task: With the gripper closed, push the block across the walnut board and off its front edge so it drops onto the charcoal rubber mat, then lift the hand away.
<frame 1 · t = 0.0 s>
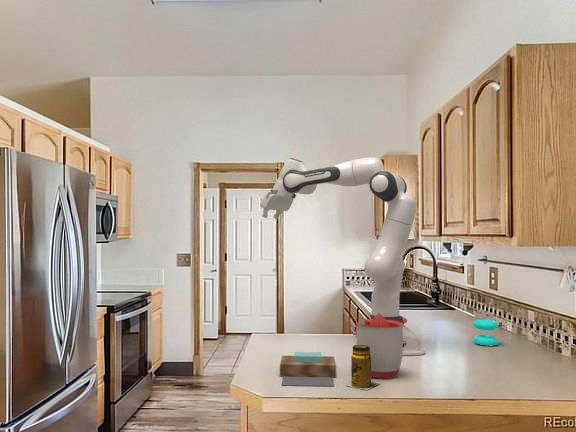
hand: (269, 217, 228), 54 cm above the worktop, tool tilted 30°, fingers open, 8 cm apart
mat: (307, 381, 153), on the worktop
block: (307, 360, 164), point 4 cm above the worktop, touching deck
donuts: (486, 345, 209), on the worktop
condiment: (363, 385, 150), on the worktop
citrus juicer: (377, 374, 163), on the worktop
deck: (307, 372, 164), on the worktop
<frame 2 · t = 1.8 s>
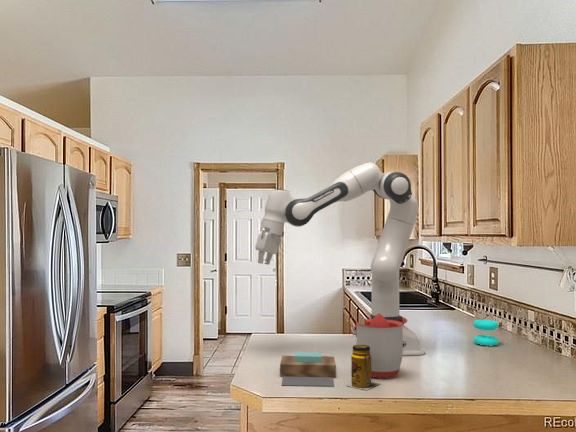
hand: (263, 263, 191), 35 cm above the worktop, tool pointing down, fingers open, 8 cm apart
nothing on the worktop moved.
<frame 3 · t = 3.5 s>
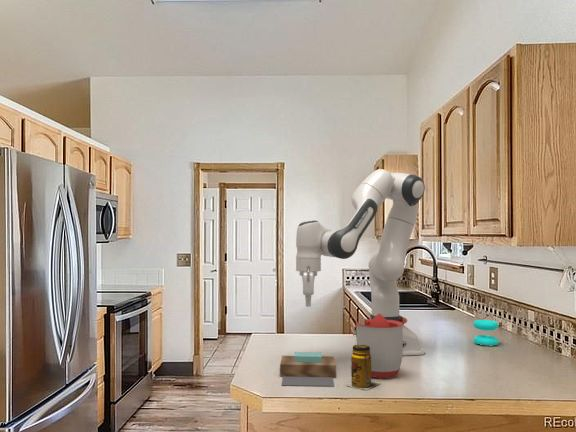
hand: (308, 305, 174), 21 cm above the worktop, tool pointing down, fingers open, 5 cm apart
nothing on the worktop moved.
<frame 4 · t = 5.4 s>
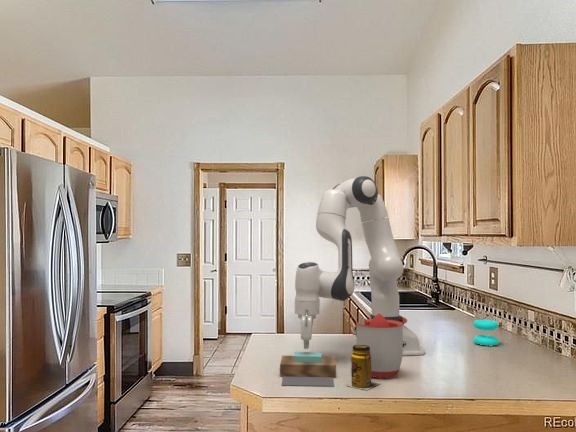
hand: (306, 347, 173), 6 cm above the worktop, tool pointing down, fingers closed
nothing on the worktop moved.
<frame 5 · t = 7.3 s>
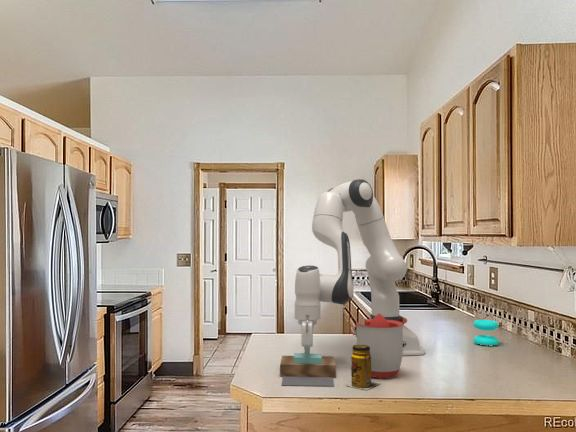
hand: (307, 354, 167), 5 cm above the worktop, tool pointing down, fingers closed
block: (307, 361, 162), point 4 cm above the worktop, touching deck
everything else where it was.
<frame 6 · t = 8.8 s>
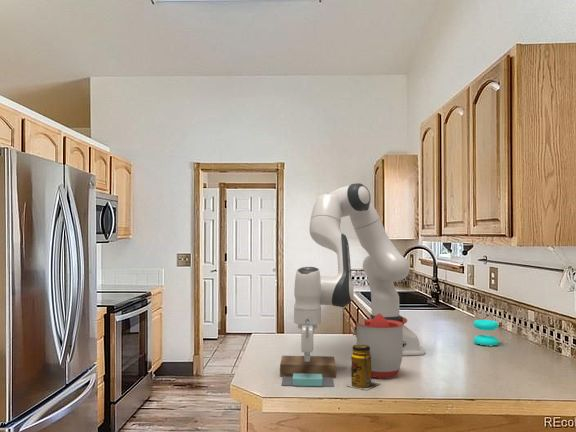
hand: (307, 360, 159), 5 cm above the worktop, tool pointing down, fingers closed
block: (307, 376, 151), point 2 cm above the worktop, tilted 180°, touching mat
everything else where it was.
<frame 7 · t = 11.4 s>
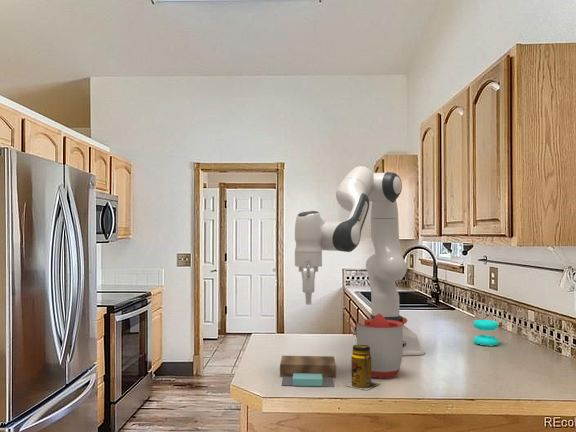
hand: (308, 304, 158), 24 cm above the worktop, tool pointing down, fingers closed
nothing on the worktop moved.
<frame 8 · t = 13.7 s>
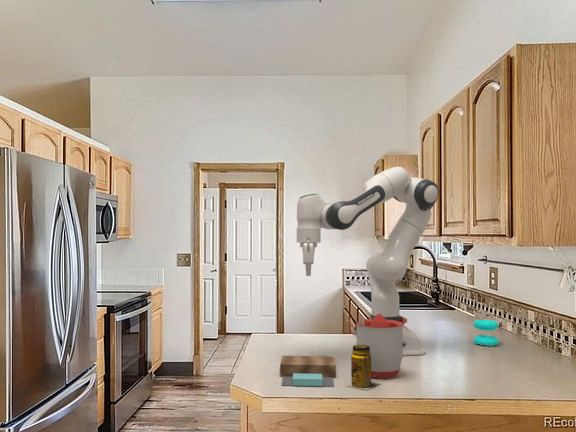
hand: (308, 275, 179), 31 cm above the worktop, tool pointing down, fingers closed
nothing on the worktop moved.
at the end: block point 2.3 cm above the worktop; block inside the target area on the mat (1.9 cm from its centre), point 2.3 cm above the mat's base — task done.
